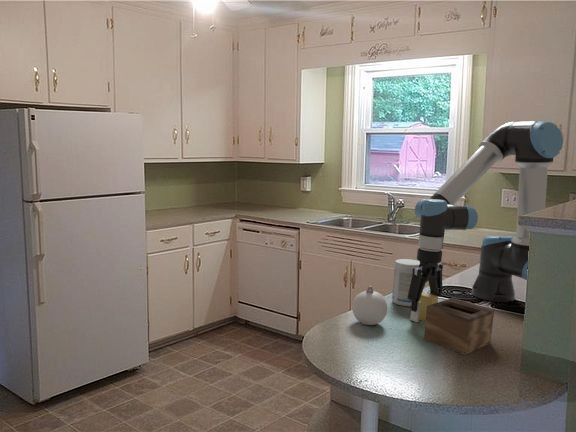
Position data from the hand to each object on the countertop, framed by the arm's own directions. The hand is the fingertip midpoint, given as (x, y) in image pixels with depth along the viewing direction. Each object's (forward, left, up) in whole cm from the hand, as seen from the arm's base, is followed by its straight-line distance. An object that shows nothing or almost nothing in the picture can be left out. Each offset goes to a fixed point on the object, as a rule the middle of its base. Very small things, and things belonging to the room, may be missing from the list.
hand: (423, 317), depth 171 cm
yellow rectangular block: (0, 0, 0) cm, 0 cm away
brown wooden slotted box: (+9, +17, 0) cm, 19 cm away
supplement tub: (-9, -13, 0) cm, 16 cm away
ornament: (+19, -7, 0) cm, 20 cm away
